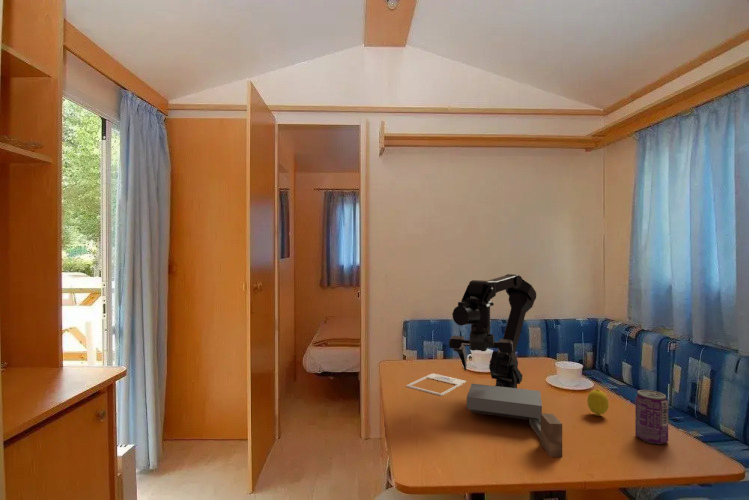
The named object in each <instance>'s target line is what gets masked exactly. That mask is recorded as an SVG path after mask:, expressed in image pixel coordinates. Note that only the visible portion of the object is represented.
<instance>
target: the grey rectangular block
mask: <svg viewBox="0 0 749 500" xmlns="http://www.w3.org/2000/svg"><path fill="white" fill-rule="evenodd" d="M541 395H542V394H541V391H540V390H535V389H534V390H533V389H527V388H518V387H517V388H509V387H500V386H495V385H489V384H481V383H471V384H470V387H469V390H468V393H467V395H466V410H470V413H475V414H483V415H489V416H490V415H491V416H498V417H505V418H511V419H512V418H513V419H521V420H526V421H527V420H528V421H529V417H532V418H539V419H541V413H543V411H542V410H543V404H542V396H541Z"/></svg>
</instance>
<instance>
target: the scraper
mask: <svg viewBox="0 0 749 500" xmlns="http://www.w3.org/2000/svg"><path fill="white" fill-rule="evenodd" d="M528 421H529V422H528V423H529V425H530V427H531V428H532V429H533V431H534V432H535V434H536V435H537V436H538V438H539V439H540V446H541V447H542V448H543V450H544V451H545V453H546V454H547V455H548V457H550V458H551V457H552V458H563V423H562V422H561V421H560V419H558V418H557V416H556V415H555V414H554V413H543V412H542V413H541V427H540V425H539V424H538V423H537V422H536V420H535V419H534V418H532V417H529V420H528Z"/></svg>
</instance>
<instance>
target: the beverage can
mask: <svg viewBox="0 0 749 500" xmlns="http://www.w3.org/2000/svg"><path fill="white" fill-rule="evenodd" d="M634 401H635V403H634V405H635V415H634V416H635V417H634V418H635V419H634V420H635V423H634V424H635V426H634V428H635V429H634V430H635V432H634V433H635V436H637V437H638V438H640V439H641V440H642V441H644V442H646V443H648V444H653V445H662V444H666V443H668V442H669V403H668V400H667V395H666V394H664V393H662V392H660V391H655V390H651V389H639V390H637V395H636V396H635V400H634Z"/></svg>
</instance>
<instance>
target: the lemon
mask: <svg viewBox="0 0 749 500" xmlns="http://www.w3.org/2000/svg"><path fill="white" fill-rule="evenodd" d="M587 407H588V408H589V410H590V411H591V412H592V413H594V414H595V416H597V417H599V416H601V415H605V413H607V411H608V409H609V398H608V396H607V394H606V393H605V392H604V391H602V390H600V389H599V388H596V389H593V390H591V391H590V392H589V393H588V395H587Z"/></svg>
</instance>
